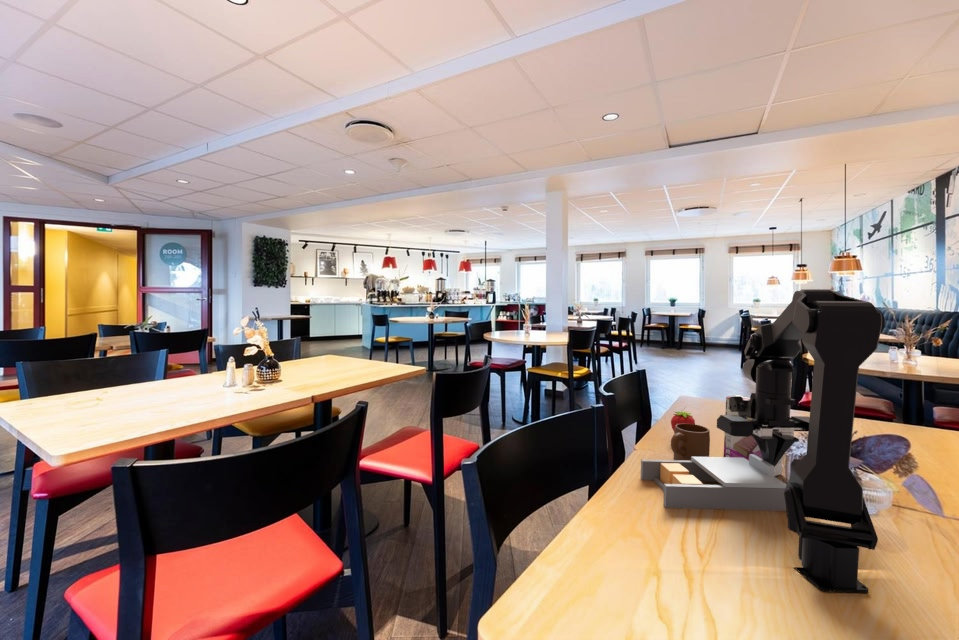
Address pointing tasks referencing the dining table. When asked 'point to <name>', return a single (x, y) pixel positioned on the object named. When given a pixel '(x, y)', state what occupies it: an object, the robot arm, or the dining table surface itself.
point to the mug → (690, 441)
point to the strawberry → (681, 419)
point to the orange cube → (671, 471)
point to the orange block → (685, 479)
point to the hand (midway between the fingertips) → (769, 468)
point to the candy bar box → (744, 443)
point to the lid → (740, 471)
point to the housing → (711, 491)
